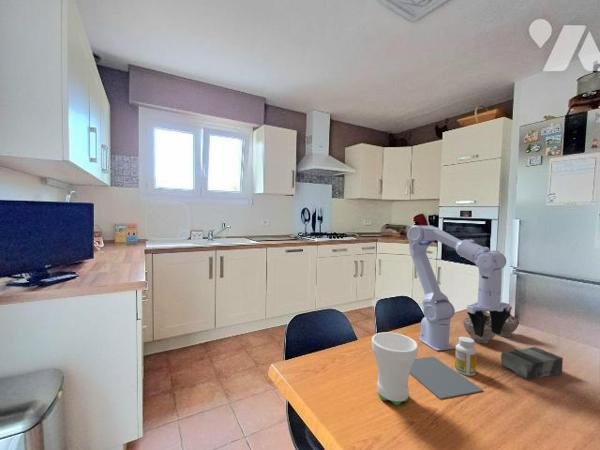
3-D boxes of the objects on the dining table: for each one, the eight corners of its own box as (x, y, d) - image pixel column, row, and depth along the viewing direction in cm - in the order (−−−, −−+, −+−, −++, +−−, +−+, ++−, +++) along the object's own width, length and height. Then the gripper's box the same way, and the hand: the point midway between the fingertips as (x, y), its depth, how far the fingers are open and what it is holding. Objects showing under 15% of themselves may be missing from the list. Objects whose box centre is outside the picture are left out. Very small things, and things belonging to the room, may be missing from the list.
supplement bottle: (473, 368, 84) (474, 337, 84) (478, 377, 79) (479, 344, 79) (453, 364, 86) (454, 334, 86) (456, 373, 81) (458, 341, 80)
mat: (396, 362, 86) (396, 361, 86) (433, 357, 90) (433, 356, 90) (439, 399, 69) (439, 398, 69) (483, 391, 73) (483, 390, 73)
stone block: (496, 365, 87) (497, 348, 87) (530, 360, 91) (531, 344, 91) (526, 381, 78) (527, 363, 78) (562, 375, 82) (563, 357, 82)
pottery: (525, 338, 107) (526, 307, 107) (485, 349, 97) (487, 316, 96) (494, 327, 117) (495, 299, 117) (455, 336, 107) (457, 306, 107)
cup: (411, 418, 62) (413, 356, 62) (363, 400, 68) (365, 343, 68) (419, 392, 72) (421, 338, 71) (377, 378, 78) (378, 328, 77)
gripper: (482, 295, 78) (480, 342, 78) (520, 292, 82) (518, 337, 82) (462, 289, 85) (460, 332, 85) (497, 286, 89) (496, 328, 89)
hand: (487, 334), depth 84 cm, fingers open, 6 cm apart
